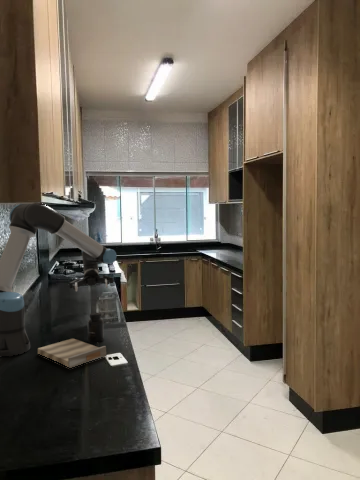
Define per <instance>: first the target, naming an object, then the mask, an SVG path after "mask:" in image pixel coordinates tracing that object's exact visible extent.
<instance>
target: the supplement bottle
mask: <svg viewBox="0 0 360 480" xmlns="http://www.w3.org/2000/svg"><path fill="white" fill-rule="evenodd" d="M104 332H105V331H104V320H103V319H102V313H101V312H90V313H89V320H88V321H87V341H88V342H89V343H93V344H94V343H95V344H98V343H101V342H104V337H105V336H104V335H105V334H104ZM97 342H98V343H97Z"/></svg>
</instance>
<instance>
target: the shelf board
mask: <svg viewBox="0 0 360 480" xmlns="http://www.w3.org/2000/svg"><path fill="white" fill-rule="evenodd" d="M38 354H40V355H42V356H45V357H47V358H50V359H52V360H54V361H57V362H59V363H61V364H63V365H65V366H67V367H69V368H72V367H75V366H78V365H81V364H83V363H86V362H89V361H92V360H95V359H98V358H100V359H102V358H101V357H103V358H105V357H104V356H106V357H107V346H106V345H103V346H100V347H98V346H95V345H93V344H90V343H87V342H84V341H82V340H79V339H75V338H73V337H72V338H70V339H66V340H62V341H60V342H59V341H58V342H55V343H52V344H48V345H45V346H42V347H38V348H37V355H38ZM40 355H39V356H40ZM42 356H41V357H42ZM45 357H44V358H45ZM47 358H46V359H47ZM98 360H99V359H98ZM95 361H96V360H95ZM92 362H93V361H92ZM89 363H90V362H89ZM86 364H87V363H86ZM81 366H82V365H81ZM67 367H66V368H67ZM78 367H79V366H78ZM69 368H68V369H69ZM75 368H76V367H75ZM72 369H73V368H72Z"/></svg>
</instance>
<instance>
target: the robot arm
mask: <svg viewBox="0 0 360 480" xmlns="http://www.w3.org/2000/svg"><path fill="white" fill-rule="evenodd" d="M46 205H47V204H45V205H38V204H22V203H20V204H16V205H15V206H14V207H13V208H11V210H10V211H9V216H8V217H9V222H10V224H9V226H8V228H9V231H10V234H9V236H8V239H7V241H6V244H5V246H4V249H3V250H2V251H3V252H2V254H1V256H0V356H9V357H13V355H15V356H18V354H19V355H22V354H24V352H25V353H26V352H28V351H30V349H31V341H30V339H29V337H28V334H27V331H26V324H25V323H26V321H25V319H26V318H25V300H24V299H25V298H24V296H23V295H22V294H21V293H20V292H14V291H13V289H12V287H13V285H14V282H15V280H16V277H17V275H18V271H19V270H20V266H21V264H22V261H23V258H24V256H25V253H26V250H27V248H28V245H29V242H30V240H31V238H33V237H35V236H36V234H37V231H38V230H43V231H45V232H48V233H50V234H51V235H55V234H56V235H57V236H59V237H60V238H62V239H63V240H65V241H66V242H68V243H70V244H71V245H72V246H74V247H76V248H78V249H79V250H81V258H82V264H83V266H82V267H83V274H84V275H83V278H80V277H78V278H76V279H74V280H72V281H70V282H68V286H69V289H73V290H74V291H75V292H78V288H79V287H82V286H92V287H93V286H96V285H97V284H105V288H108V285H110V284H114V277H111V276H107V275H105V274H103V275H102V276H100V273H99V272H100V270H99V264H105V265H112V264H113V263H115V261H116V259H117V252H116V250H115V249H112V248H107V247H106V246H104V245H102V244H101V243H99V242H98V241H97V240H96V239H94V238H92V237H91V236H89V235H87V233H85V232H84V231H82V230H81V229H79V228H77V226H75V225H73V223H72V224H71V222H69V221H67V220H66V217H65V216H64V215H63V214H61V213H60V212H58V211H57V210H55V209H54V208H52V207H51V206H49V205H47V206H46Z"/></svg>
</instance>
